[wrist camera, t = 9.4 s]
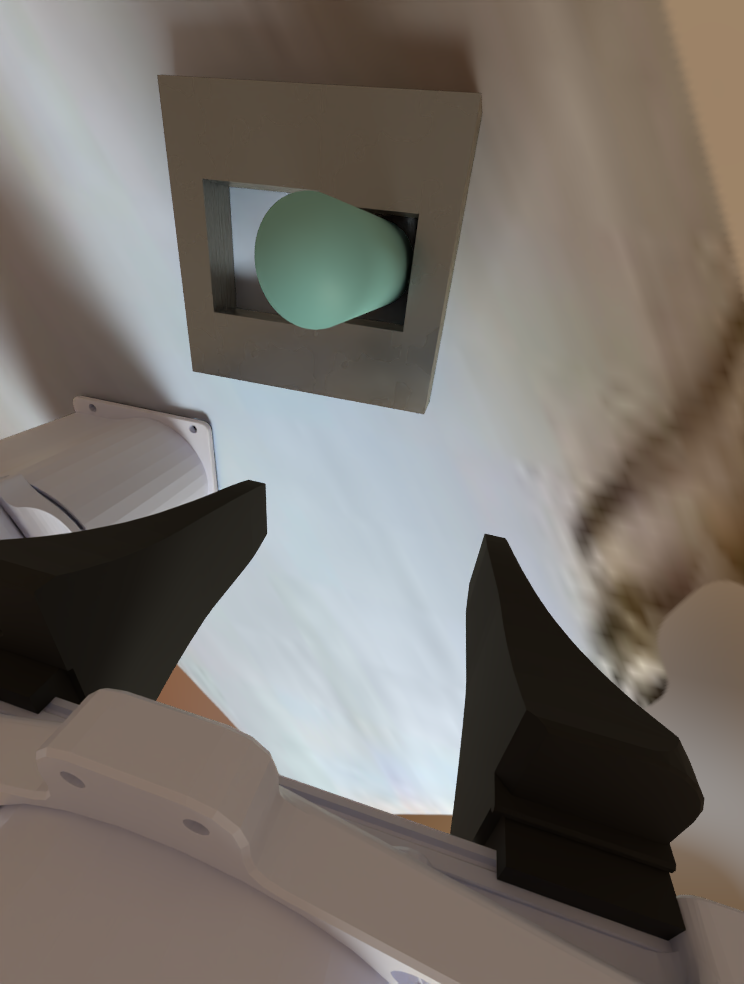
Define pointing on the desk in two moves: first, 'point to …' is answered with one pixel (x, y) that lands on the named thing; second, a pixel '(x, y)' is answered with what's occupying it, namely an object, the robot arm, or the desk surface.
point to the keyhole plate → (332, 171)
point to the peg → (329, 260)
